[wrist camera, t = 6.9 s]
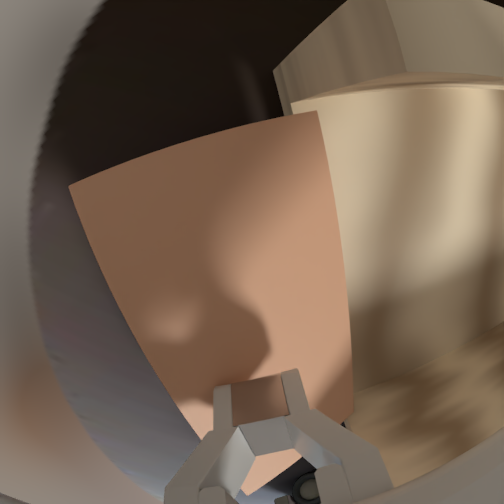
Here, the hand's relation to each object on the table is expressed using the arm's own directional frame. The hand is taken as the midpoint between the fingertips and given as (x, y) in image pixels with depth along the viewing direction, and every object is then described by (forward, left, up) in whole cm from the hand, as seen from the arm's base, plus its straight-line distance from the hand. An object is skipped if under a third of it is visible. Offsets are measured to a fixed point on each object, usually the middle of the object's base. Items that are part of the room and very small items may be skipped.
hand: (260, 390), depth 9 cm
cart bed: (-14, 0, -6) cm, 16 cm away
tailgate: (-3, 0, -4) cm, 5 cm away
